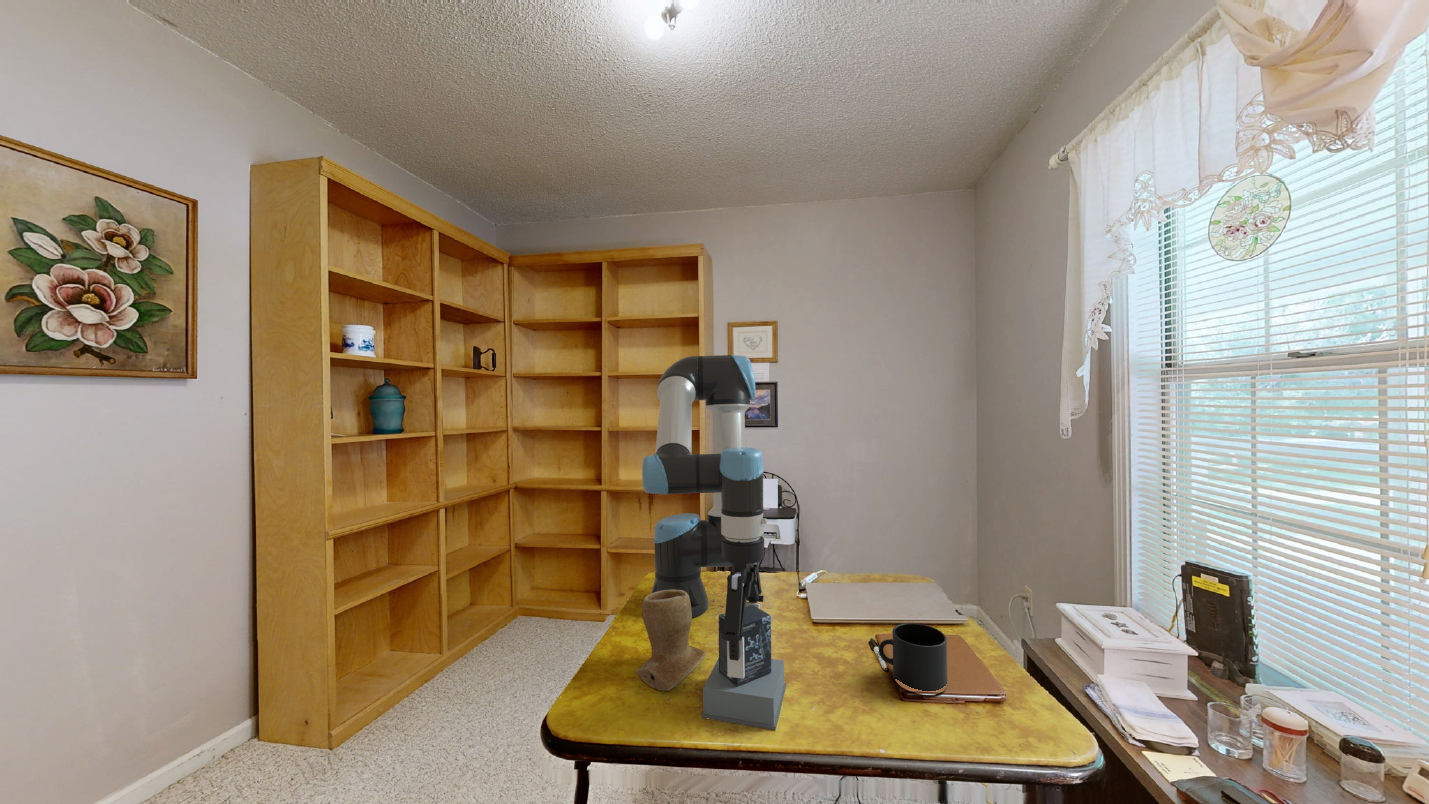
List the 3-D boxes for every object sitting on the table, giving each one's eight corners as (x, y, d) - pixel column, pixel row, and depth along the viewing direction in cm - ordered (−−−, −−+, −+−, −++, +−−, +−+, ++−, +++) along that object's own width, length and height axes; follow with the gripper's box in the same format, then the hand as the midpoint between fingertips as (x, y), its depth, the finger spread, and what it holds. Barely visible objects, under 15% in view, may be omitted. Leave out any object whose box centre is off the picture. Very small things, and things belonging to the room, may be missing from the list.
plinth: (720, 677, 97) (720, 651, 97) (786, 686, 94) (785, 659, 94) (701, 717, 85) (700, 688, 85) (775, 730, 82) (775, 699, 82)
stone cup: (665, 646, 109) (664, 578, 109) (713, 660, 104) (711, 587, 103) (619, 682, 96) (618, 604, 96) (671, 700, 90) (669, 617, 90)
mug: (881, 661, 102) (881, 617, 102) (947, 674, 97) (946, 627, 97) (875, 686, 93) (875, 638, 93) (947, 702, 88) (946, 651, 88)
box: (736, 688, 85) (735, 626, 85) (718, 673, 90) (717, 614, 89) (772, 673, 89) (771, 614, 89) (753, 659, 94) (752, 603, 94)
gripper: (749, 560, 76) (751, 700, 76) (775, 519, 100) (776, 625, 100) (701, 557, 78) (704, 693, 78) (738, 517, 102) (740, 621, 102)
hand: (745, 655), depth 89 cm, fingers open, 13 cm apart
